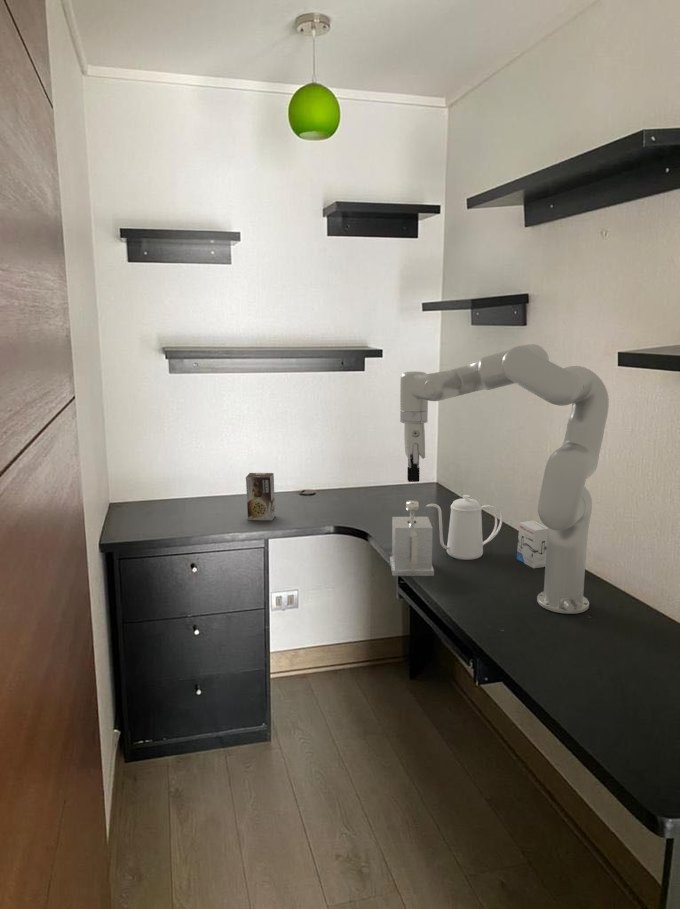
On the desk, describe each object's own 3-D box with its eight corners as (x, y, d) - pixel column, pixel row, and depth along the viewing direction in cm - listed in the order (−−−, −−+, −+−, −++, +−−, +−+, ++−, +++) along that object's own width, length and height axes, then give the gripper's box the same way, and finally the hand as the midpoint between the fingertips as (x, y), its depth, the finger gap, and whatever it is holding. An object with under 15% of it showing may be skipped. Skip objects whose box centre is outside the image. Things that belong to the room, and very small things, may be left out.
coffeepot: (418, 552, 212) (419, 494, 208) (491, 545, 219) (494, 487, 215) (432, 565, 202) (433, 503, 198) (508, 556, 209) (511, 496, 205)
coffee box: (275, 515, 251) (274, 472, 248) (272, 520, 245) (270, 476, 242) (251, 515, 252) (249, 472, 249) (247, 520, 246) (245, 476, 243)
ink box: (515, 559, 207) (517, 521, 204) (529, 556, 208) (531, 519, 206) (533, 568, 199) (535, 530, 196) (547, 566, 200) (550, 528, 198)
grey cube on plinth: (435, 579, 191) (436, 531, 189) (393, 579, 191) (393, 531, 189) (428, 561, 205) (429, 516, 202) (389, 561, 205) (390, 516, 202)
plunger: (424, 566, 196) (426, 505, 192) (400, 566, 196) (401, 505, 192) (422, 557, 203) (423, 498, 199) (398, 557, 203) (398, 498, 199)
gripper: (431, 420, 183) (430, 487, 187) (424, 412, 198) (423, 474, 201) (402, 421, 183) (402, 488, 187) (398, 413, 198) (397, 475, 201)
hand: (413, 481), depth 194 cm, fingers closed
